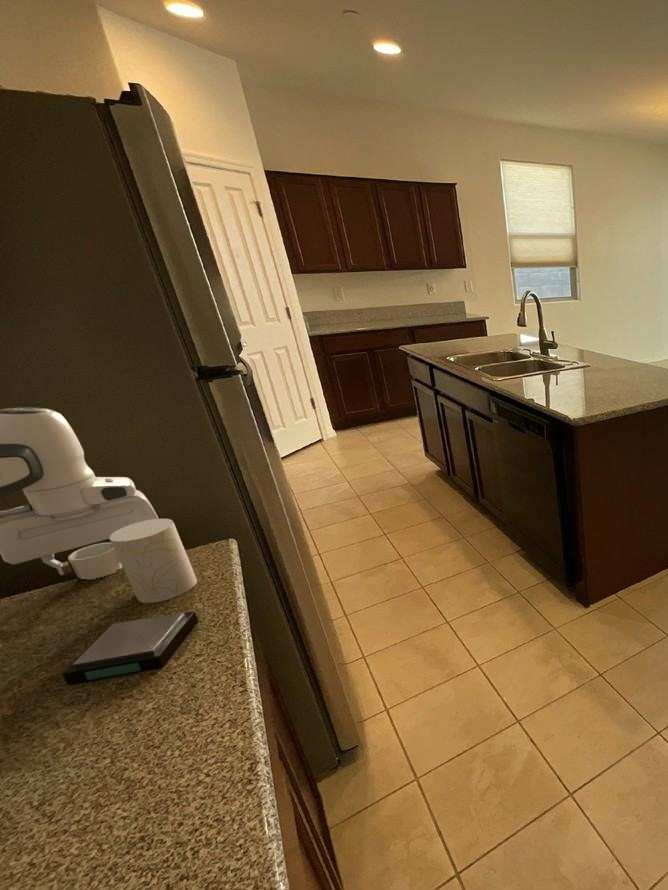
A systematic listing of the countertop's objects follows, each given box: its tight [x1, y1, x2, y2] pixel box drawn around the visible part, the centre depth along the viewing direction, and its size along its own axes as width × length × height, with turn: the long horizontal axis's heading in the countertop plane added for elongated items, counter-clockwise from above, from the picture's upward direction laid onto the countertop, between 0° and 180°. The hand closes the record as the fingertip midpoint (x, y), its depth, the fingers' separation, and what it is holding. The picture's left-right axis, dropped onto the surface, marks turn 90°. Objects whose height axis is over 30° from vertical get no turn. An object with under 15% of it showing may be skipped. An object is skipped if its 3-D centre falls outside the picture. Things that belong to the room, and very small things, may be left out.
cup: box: [108, 518, 198, 604], centre depth 90 cm, size 8×8×12 cm
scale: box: [61, 610, 199, 686], centre depth 77 cm, size 11×11×3 cm
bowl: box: [67, 541, 123, 581], centre depth 97 cm, size 6×6×4 cm
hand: (99, 563), depth 97 cm, fingers open, 7 cm apart
